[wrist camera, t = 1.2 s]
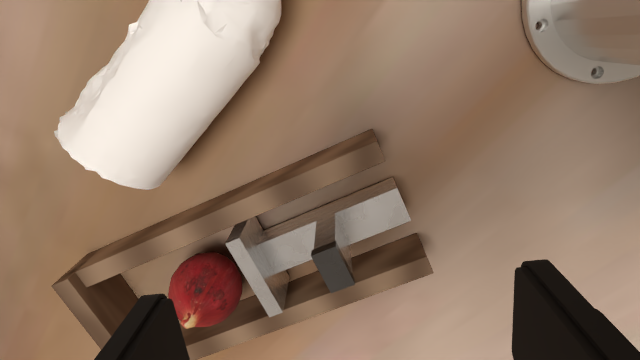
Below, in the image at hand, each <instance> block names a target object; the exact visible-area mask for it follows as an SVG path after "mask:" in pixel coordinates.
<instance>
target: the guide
mask: <svg viewBox="0 0 640 360" xmlns="http://www.w3.org/2000/svg"><path fill="white" fill-rule="evenodd" d="M384 161H385V158H384V156H383V153H382V151H381V149H380V146H379V144H378V141H377V139H376V137H375V134H374V132H373V130H372V129H370V130H368V131H366V132H364V133H361V134H359V135H357V136H355V137H352V138H350V139H348V140H345V141H343V142H341V143H339V144H336V145H334V146H332V147H330V148H327V149H325V150H323V151H320V152H318V153H316V154H314V155H311V156H309V157H307V158H305V159H302V160H300V161H298V162H295V163H293V164H291V165H289V166H286V167H284V168H282V169H280V170H277V171H275V172H273V173H270V174H268V175H266V176H264V177H261V178H259V179H257V180H255V181H252V182H250V183H248V184H245V185H243V186H241V187H239V188H236V189H234V190H232V191H230V192H227V193H225V194H223V195H220V196H218V197H216V198H214V199H211V200H209V201H207V202H205V203H202V204H200V205H198V206H195V207H193V208H191V209H189V210H186V211H184V212H182V213H180V214H177V215H175V216H173V217H170V218H168V219H166V220H164V221H161V222H159V223H157V224H155V225H152V226H150V227H148V228H146V229H143V230H141V231H139V232H136V233H134V234H132V235H130V236H127V237H125V238H123V239H121V240H118V241H116V242H114V243H111V244H109V245H107V246H105V247H102V248H100V249H98V250H96V251H93V252H91V253H89V254H87V255H86V256H85V257H83V258H82V259H81V260H80V261H79V262H78V263H77V264H76V265H74V266H73V267H72V268H71V269H70V270H69V271H68V272H67V273H65V274H64V275H63V276H62V277H61V278H60V279H59V280H58V281H56V282H55V283H54V284H53V285H52V288H53V289H54V290H55V291H56V293H57V294H58V295H59V296H60V298H61V299H62V300H63V302H64V303H65V304H66V305H67V307H68V308H69V309H70V310H71V312H72V313H73V314H74V316H75V317H76V318H77V319H78V321H79V322H80V323H81V324H82V326H83V327H84V328H85V330H86V331H87V332H88V333H89V335H90V336H91V337H92V338H93V340H94V341H95V342H96V344H97V345H98V346H99V347H100V349H101V350H102V348H103V347H104V346H105V344H106V343H107V342H108V340H109V339H110V338H111V336H112V335H113V334H114V332H115V331H116V329H117V328H118V327H119V325H120V324H121V323H122V321H123V320H124V319H125V317H126V316H127V315H128V313H129V312H130V311H131V309H132V308H133V306H134V305H135V304H136V302H137V301H138V298H137V297H136V295H135V294H134V293H133V291H132V290H131V288H130V287H129V286H128V284H127V283H126V281H125V280H124V279H123V277H122V276H121V274H120V273H122V272H124V271H127V270H129V269H132V268H134V267H136V266H139V265H141V264H143V263H146V262H148V261H150V260H153V259H155V258H158V257H160V256H162V255H165V254H167V253H169V252H172V251H174V250H176V249H179V248H181V247H184V246H186V245H188V244H191V243H193V242H195V241H198V240H200V239H202V238H205V237H207V236H210V235H212V234H214V233H217V232H219V231H221V230H224V229H226V228H228V227H231V226H233V225H236V224H238V223H240V222H243V221H245V220H247V219H250V218H252V217H254V216H257V215H259V214H262V213H264V212H266V211H269V210H271V209H273V208H276V207H278V206H280V205H283V204H285V203H288V202H290V201H292V200H295V199H297V198H299V197H302V196H304V195H306V194H309V193H311V192H314V191H316V190H318V189H321V188H323V187H325V186H328V185H330V184H332V183H335V182H337V181H340V180H342V179H344V178H347V177H349V176H351V175H354V174H356V173H358V172H361V171H363V170H366V169H368V168H370V167H373V166H375V165H377V164H380V163H382V162H384ZM351 261H352V274H353V276H354V278H355V285H353V286H350V287H347V288H345V289H342V290H339V291H337V292H334V293H330V291H329V289H328V287H327V285H326V283H325V281H324V280H323V278H322V276H321V274H320V272H319V271H317V272H314V273H312V274H309V275H306V276H304V277H301V278H299V279H296V280H293V281H291V282H288V288H287V293H286V299H285V304H284V310H283V313H280V314H277V315H275V316H272V317H269V316H268V314H267V312H266V311H265V309H264V307H263V306H262V304H261V302H260V301H259V299H258V297H257V296H256V295H255V296H252V297H249V298H247V299H244V300H242V301H239V303H238V305H237V307H236V309H235V310H234V311H233V312H232V313H231V314H230V315H229V316H228V317H227V318H226V319H225V320H224V321H222V322H221V323H218V324H215V325H212V326H209V327H192V328H188V329H186V328H184V327H183V326H182V325H181V324H180V327H181V331H182V334H183V337H184V341H185V344H186V348H187V351H188V355H189V358H190V360H197V359H199V358H202V357H205V356H208V355H210V354H213V353H216V352H219V351H221V350H224V349H227V348H230V347H232V346H235V345H238V344H241V343H243V342H246V341H249V340H252V339H254V338H257V337H260V336H262V335H265V334H268V333H271V332H273V331H276V330H279V329H282V328H284V327H287V326H290V325H293V324H295V323H298V322H301V321H304V320H306V319H309V318H312V317H315V316H317V315H320V314H323V313H325V312H328V311H331V310H334V309H336V308H339V307H342V306H345V305H347V304H350V303H353V302H356V301H358V300H361V299H364V298H367V297H369V296H372V295H375V294H378V293H380V292H383V291H386V290H388V289H391V288H394V287H397V286H399V285H402V284H405V283H408V282H410V281H413V280H416V279H419V278H421V277H424V276H427V275H430V274H432V273H433V270H432V268H431V265H430V263H429V261H428V258H427V256H426V254H425V251H424V249H423V246H422V244H421V242H420V239H419V237H418V235H417V233H415V234H413V235H410V236H408V237H405V238H402V239H400V240H397V241H395V242H392V243H389V244H387V245H384V246H382V247H379V248H377V249H374V250H371V251H369V252H366V253H364V254H361V255H358V256H356V257H353V258H351Z"/></svg>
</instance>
